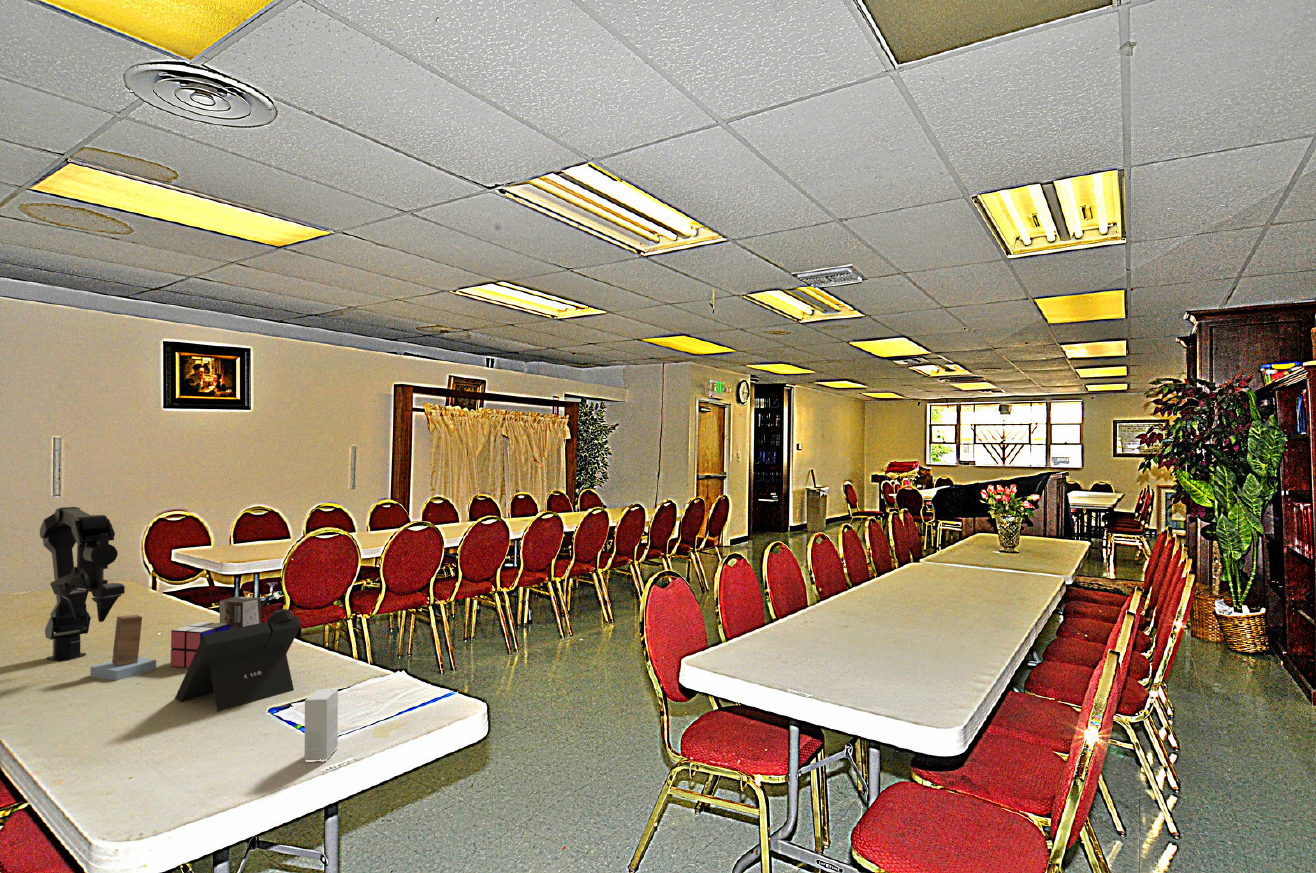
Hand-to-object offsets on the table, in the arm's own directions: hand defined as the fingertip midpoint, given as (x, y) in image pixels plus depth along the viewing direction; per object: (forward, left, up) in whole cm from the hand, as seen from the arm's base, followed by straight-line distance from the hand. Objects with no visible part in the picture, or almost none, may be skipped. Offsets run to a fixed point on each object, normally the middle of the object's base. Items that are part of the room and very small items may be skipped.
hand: (89, 620), depth 190 cm
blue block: (+12, +1, -14) cm, 18 cm away
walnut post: (+12, +1, -10) cm, 16 cm away
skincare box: (+100, -22, -13) cm, 103 cm away
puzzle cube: (+23, +14, -13) cm, 30 cm away
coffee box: (+27, +23, -13) cm, 38 cm away
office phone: (+50, +4, -14) cm, 52 cm away
